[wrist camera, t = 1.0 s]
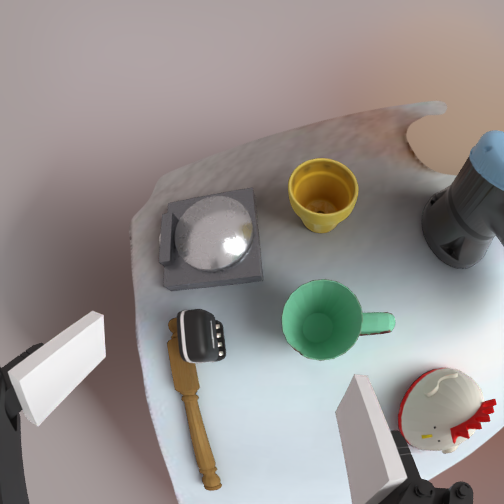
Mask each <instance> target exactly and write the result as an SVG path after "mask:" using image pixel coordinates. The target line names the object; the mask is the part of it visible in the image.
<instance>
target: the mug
mask: <svg viewBox="0 0 504 504" xmlns="http://www.w3.org/2000/svg"><path fill="white" fill-rule="evenodd" d="M281 320H282V331H283V333H284V335H285V338H286V340H287V342H288V343H289V344H290V345H291V347H292V348H293V349H294V350H295V351H297V352H299V353H300V354H301V355H302V356H304V357H306V358H309V359H314V360H319V361H321V360H329V359H334V358H336V357H338V356H340V355H342V354H344V353H346V352H347V351H348V350H349V349H350V348H351V347H352V346H353V345H354V344H355V342H356V341H357V339H358V337H359V336H363V335H375V334H384V333H389V332H391V331H392V330H393V328H394V326H395V318H394V316H393V315H392V314H391V313H388V312H374V313H362V308H361V305H360V303H359V301H358V299H357V297H356V296H355V295H354V294H353V293H352V291H351V290H350V289H349V288H348V287H346V286H344V285H342V284H340V283H339V282H337V281H332V280H326V279H321V280H313V281H310V282H308V283H305V284H303V285H301V286H300V287H298V288H297V289H296V290H295V291H294V292H293V293H292V294H291V295H290V296H289V298H288V300H287V301H286V303H285V305H284V308H283V312H282V317H281Z"/></svg>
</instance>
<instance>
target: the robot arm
mask: <svg viewBox="0 0 504 504" xmlns="http://www.w3.org/2000/svg"><path fill="white" fill-rule="evenodd" d="M422 228H423V232H424V236H425V238H426V241H427V243H428V245H429V246H430V248H431V249H432V251H433V252H434V253H435V255H436V256H437V257H438V258H439V259H440V260H442V261H443V262H444V263H446V264H448V265H449V266H452V267H455V268H462V269H463V268H468V267H471V266H473V265H474V264H476V263H477V262H478V261H480V260H481V259H482V258H483V256H484V255H485V253H486V251H487V249H488V247H489V245H490V243H491V241H492V239H493V237H494V236H497V237H498V239H499V240H500V242H501V243H502V244H503V246H504V132H502V131H497V130H495V131H489V132H486V133H485V134H484V135H483V136H482V137H481V138H480V140H479V142H478V143H477V144H476V146H474V147H473V148H472V150H471V152H470V156H469V157H468V159H467V161H466V162H465V164H464V166H463V167H462V169H461V170H460V172H459V174H458V175H457V177H456V178H455V180H454V181H453V183H452V184H451V185H450V186H448V187H446V188H445V189H443V190H441V191H439V192H437V193H436V194H435V195H433V196H432V197H431V199H430V200H429V202H428V203H427V205H426V206H425V208H424V211H423V215H422ZM105 357H106V351H105V337H104V316H103V315H102V314H99V313H97V312H94V311H92V312H90V313H89V314H87V315H86V316H84V317H83V318H81V319H80V320H78V321H77V322H76V323H74V324H73V325H71V326H70V327H68V328H67V329H66V330H64V331H63V332H61V333H60V334H58V335H57V336H56V337H54V338H53V339H51V340H50V341H49V342H47V343H46V344H45V345H44V344H43V343H40V344H36V345H33V346H32V347H30V348H29V349H27V350H26V352H23V353H22V354H21V355H20V356H18V357H16V358H15V359H13V360H12V361H11V362H9V363H8V364H7V365H5V366H4V367H2V368H1V367H0V504H29V499H28V494H27V489H26V483H25V476H24V469H23V460H22V448H21V431H20V429H21V428H20V414H19V412H20V411H21V410H23V412H24V414H25V416H26V418H27V419H28V420H29V421H31V422H32V423H34V424H35V425H36V426H39V425H40V424H41V423H42V422H43V421H44V420H45V419H46V417H47V416H48V415H49V414H50V413H51V412H52V411H53V410H54V409H55V408H56V407H57V406H58V405H59V404H60V403H61V402H62V401H63V400H64V399H65V398H66V397H67V396H68V394H69V393H70V392H71V391H72V390H73V389H74V388H75V387H76V386H77V385H78V384H79V383H80V382H81V381H82V380H83V379H84V378H85V377H86V376H87V375H88V374H89V373H90V372H91V371H92V370H93V369H94V368H95V367H96V366H97V365H98V364H99V363H100V362H101V361H102V360H103V359H104V358H105ZM335 413H336V418H337V422H338V427H339V432H340V437H341V442H342V447H343V453H344V458H345V464H346V469H347V475H348V480H349V486H350V492H351V499H352V504H473V490H472V488H471V487H470V485H469V484H467V483H465V482H457V483H455V484H453V486H451V487H450V488H449V489H445V488H434V486H433V485H432V483H430V482H429V481H427V480H424V479H421V477H420V475H419V472H418V470H417V467H416V464H415V462H414V459H413V457H412V455H411V452H410V449H409V448H408V445H407V442H406V440H405V438H404V437H403V436H402V434H401V433H400V432H399V431H398V430H397V431H390V429H389V427H388V424H387V421H386V419H385V416H384V414H383V411H382V409H381V407H380V404H379V402H378V399H377V397H376V394H375V392H374V390H373V387H372V385H371V383H370V380H369V378H368V376H366V375H355V374H354V376H353V378H352V380H351V382H350V384H349V387H348V389H347V391H346V393H345V395H344V397H343V399H342V401H341V403H340V404H339V406H338V408H337V410H336V412H335Z"/></svg>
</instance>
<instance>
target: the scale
mask: <svg viewBox="0 0 504 504" xmlns="http://www.w3.org/2000/svg"><path fill="white" fill-rule="evenodd" d="M159 243H160V251H159V263H160V264H162V265H163V266H164V287H165V288H167V289H169V290H171V291H177V290H187V289H196V288H206V287H215V286H224V285H233V284H241V283H250V282H258V281H263V273H262V262H261V251H260V241H259V230H258V220H257V210H256V200H255V194H254V191H253V188H247V189H241V190H235V191H229V192H224V193H218V194H213V195H207V196H202V197H197V198H192V199H187V200H182V201H177V202H172V203H168V212H167V213H166V214H162V222H161V233H160V237H159Z"/></svg>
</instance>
